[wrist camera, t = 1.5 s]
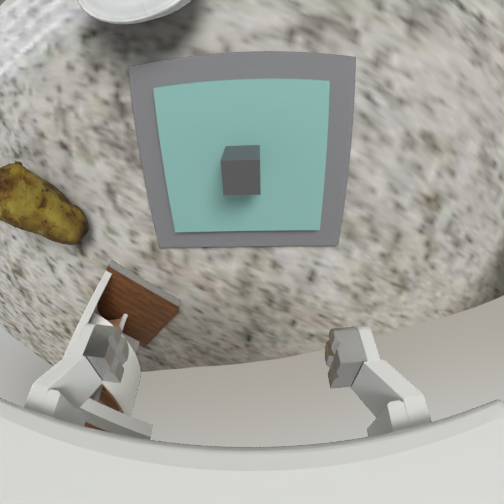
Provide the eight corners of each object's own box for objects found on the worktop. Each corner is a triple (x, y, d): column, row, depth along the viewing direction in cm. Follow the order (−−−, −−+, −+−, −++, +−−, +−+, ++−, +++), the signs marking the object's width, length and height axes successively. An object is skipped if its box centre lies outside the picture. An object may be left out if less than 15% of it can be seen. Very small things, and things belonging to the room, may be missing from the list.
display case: (147, 337, 45) (101, 551, 17) (88, 304, 41) (15, 520, 13) (180, 300, 39) (132, 576, 11) (111, 259, 36) (11, 538, 7)
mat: (353, 56, 21) (355, 56, 21) (337, 242, 33) (338, 245, 33) (130, 66, 22) (128, 66, 22) (161, 244, 34) (159, 247, 33)
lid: (327, 80, 22) (341, 85, 19) (318, 226, 31) (326, 253, 28) (156, 87, 23) (136, 94, 19) (176, 228, 32) (166, 255, 28)
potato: (61, 243, 34) (31, 283, 28) (10, 165, 27) (-30, 195, 21) (102, 222, 32) (71, 265, 26) (47, 130, 25) (1, 158, 19)
